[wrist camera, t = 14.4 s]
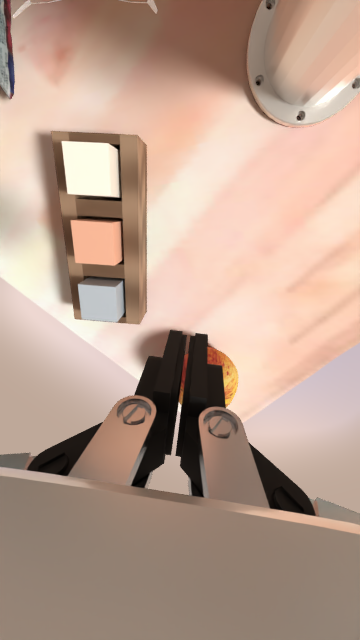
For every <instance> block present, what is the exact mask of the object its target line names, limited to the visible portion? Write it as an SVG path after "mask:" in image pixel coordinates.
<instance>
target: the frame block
mask: <svg viewBox="0 0 360 640" xmlns="http://www.w3.org/2000/svg"><path fill="white" fill-rule="evenodd" d="M51 134H52V142H53V150H54V158H55V166H56V174H57V182H58V190H59V198H60V205H61V213H62V221H63V229H64V237H65V245H66V253H67V261H68V269H69V277H70V285H71V293H72V301H73V309H74V317H75V319H80V320H84V319H82V317H81V308H80V299H79V290H78V284H79V283H81V282H82V281H84V280H85V279H87V278H89V277H90V276H97V277H111V278H124V279H125V299H126V311H125V313H124V314H123V315H122V317H121V318H120V319H119V321H118V322H116V323H128V324H140V323H141V321H142V319H143V317H144V315H145V313H146V312H147V145H146V144H145V143H144V142H143V141H142V140H141V139H140V137H139V136H138V135H126V134H104V133H82V132H60V131H51ZM62 141H71V142H92V143H109V144H110V145H112V146H113V147H114V148H116V149H117V150H119V151H120V158H121V186H122V198H115V197H98V196H84V195H73V194H68V193H67V184H66V176H65V167H64V158H63V149H62ZM88 218H92V219H108V220H123V243H124V260H122V261H121V262H119V263H118V264H116V265H115V266H112V265H98V264H84V263H75V255H74V246H73V237H72V229H71V220H78V219H88ZM92 321H96V320H92ZM104 322H108V321H104Z"/></svg>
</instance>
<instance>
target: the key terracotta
mask: <svg viewBox="0 0 360 640" xmlns="http://www.w3.org/2000/svg"><path fill="white" fill-rule="evenodd" d="M71 229H72V237H73V246H74V255H75V263H84V264H98V265H112V266H115V265H116V264H118V263H119V262H121V261H122V260H124V243H123V220H108V219H92V218H88V219H78V220H71Z"/></svg>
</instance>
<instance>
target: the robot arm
mask: <svg viewBox="0 0 360 640" xmlns="http://www.w3.org/2000/svg"><path fill="white" fill-rule="evenodd" d="M268 6H269V7H270V8H271V9H270V10H269V9H267V8H266V7H268ZM246 57H247V75H248V80H249V86H250V88H251V91H252V94H253V96H254V99H255V100H256V102H257V104H258V105H259V107H260V109H261V110H262V111H263V112H264V113H265V114H266V115H267V116H268V117H269V118H271V119H272V120H274V121H275V122H277V123H279V124H282V125H285V126H288V127H297V128H300V127H308V126H313V125H316V124H319V123H321V122H324V121H325V120H327V119H329V118H331V117H332V116H334V115H335V114H337V113H338V112H340V111H341V110H342V109H344V108H345V107H346V106H347V105H348V104H349V103H350V102H351V101H352V100H353V99H354V98H355V97H356V96H357V95H358V94H359V92H360V0H262V2H261V4H260V6H259V8H258V10H257V12H256V15H255V18H254V21H253V24H252V27H251V31H250V36H249V40H248V48H247V56H246ZM257 81H259V82H260V85H259V86H258V85H256V82H257ZM352 84H353V85H354V89H353V87H352ZM297 116H300V120H299V121H298V120H297ZM186 337H187V335H182V331H175V330H170V333H169V337H168V340H167V344H166V348H165V351H164V355H163V358H161V357H154V356H149V357H148V359H147V362H146V365H145V367H144V370H143V373H142V376H141V378H140V381H139V384H138V386H137V389H136V392H135V395H134V396H128V397H125V398H123V399H121V400H119V401H118V402H117V403H116V404H115V405H114V407H113V408H112V410H111V411H110V413H109V414H108V416H107V417H106V419H105V420H104V422H102V423H100V424H98V425H95V426H93V427H91V428H89V429H87V430H85V431H83V432H81V433H79V434H77V435H75V436H73V437H71V438H69V439H67V440H65V441H63V442H61V443H59V444H57V445H55V446H52V447H50V448H48V449H47V450H45V451H43V452H42V453H40V454H39V455H38V456H31V453H20V454H4V455H0V640H360V513H357V512H354V511H352V510H349V509H347V508H344V507H341V506H339V505H336V504H334V503H331V502H328V501H326V500H323V499H320V498H318V497H317V498H316V499H315V500H312V499H310V498H308V496H307V495H306V494H305V493H304V492H303V491H302V490H301V489H300V488H299V487H298V486H297V485H296V484H295V483H294V482H293V481H292V480H290V479H289V478H288V477H287V476H286V475H285V474H284V473H283V472H281V471H280V470H279V469H278V468H277V467H276V466H275V465H274V464H272V463H271V462H270V461H269V460H268V459H267V458H266V457H264V456H263V455H262V454H261V453H260V452H259V451H258V450H257V449H255V448H254V447H253V446H252V445H251V444H250V443H249V442H248V439H247V436H246V433H245V430H244V427H243V424H242V422H241V420H240V418H239V417H238V416H237V415H236V414H235V413H233V412H232V411H230V410H228V409H226V404H225V391H224V379H223V367H222V365H214V364H207V362H208V335H206V334H199V333H196V334H195V336H190V344H189V352H188V360H187V367H186V375H185V383H184V391H183V399H182V407H181V415H180V423H179V432H178V440H177V448H176V456H180V457H181V464H180V466H181V468H182V469H183V470H184V472H185V473H186V474H187V475H188V477H189V481H188V487H189V495H183V494H177V493H170V492H164V491H158V490H152V489H148V486H149V483H150V480H151V477H152V472H153V470H155V469H156V468H158V467H159V466H160V465H162V464H164V460H165V454H166V455H171V451H172V444H173V437H174V429H175V423H176V416H177V409H178V403H179V396H180V389H181V381H182V372H183V363H184V355H185V346H186Z"/></svg>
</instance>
